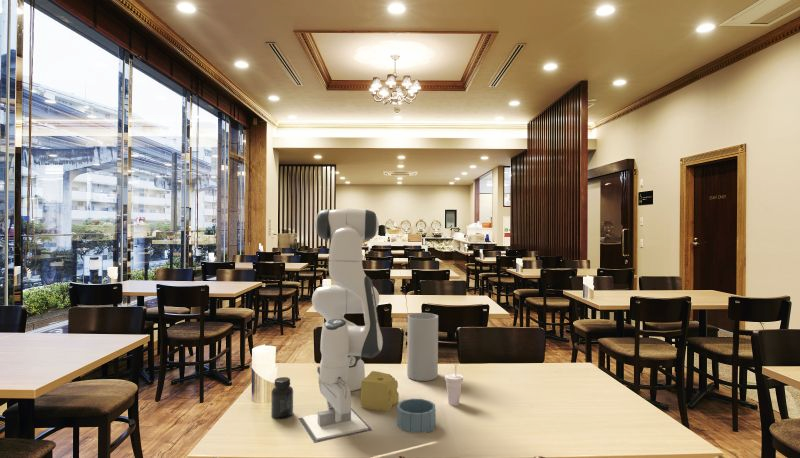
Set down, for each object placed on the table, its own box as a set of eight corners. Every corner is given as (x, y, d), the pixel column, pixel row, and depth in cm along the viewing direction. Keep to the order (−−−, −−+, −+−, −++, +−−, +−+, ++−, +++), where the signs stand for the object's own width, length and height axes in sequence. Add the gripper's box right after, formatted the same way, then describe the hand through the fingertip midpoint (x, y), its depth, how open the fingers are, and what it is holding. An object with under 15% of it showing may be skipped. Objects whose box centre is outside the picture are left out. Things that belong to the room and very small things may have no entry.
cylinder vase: (418, 369, 195) (418, 311, 194) (443, 375, 187) (443, 315, 187) (401, 377, 185) (401, 316, 184) (427, 384, 177) (427, 320, 177)
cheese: (398, 401, 160) (398, 373, 160) (388, 414, 150) (388, 384, 149) (371, 398, 163) (371, 370, 163) (359, 409, 153) (359, 380, 153)
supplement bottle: (270, 413, 149) (270, 377, 149) (291, 410, 152) (291, 374, 151) (272, 422, 143) (273, 384, 142) (294, 418, 145) (294, 381, 145)
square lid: (302, 418, 144) (302, 406, 144) (349, 409, 151) (349, 397, 151) (316, 440, 130) (316, 426, 130) (368, 429, 137) (368, 415, 137)
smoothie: (462, 408, 155) (462, 367, 154) (443, 406, 156) (443, 366, 156) (463, 400, 161) (463, 361, 161) (445, 399, 162) (445, 360, 162)
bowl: (391, 421, 144) (391, 402, 144) (423, 414, 149) (423, 396, 149) (408, 437, 133) (408, 417, 133) (442, 429, 139) (442, 409, 139)
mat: (298, 419, 144) (298, 418, 144) (351, 409, 153) (351, 408, 153) (314, 444, 128) (314, 442, 128) (372, 431, 137) (372, 430, 137)
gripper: (356, 382, 133) (356, 428, 133) (333, 362, 151) (333, 403, 151) (335, 385, 130) (335, 433, 130) (315, 365, 148) (315, 407, 148)
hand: (334, 417), depth 141 cm, fingers open, 4 cm apart
